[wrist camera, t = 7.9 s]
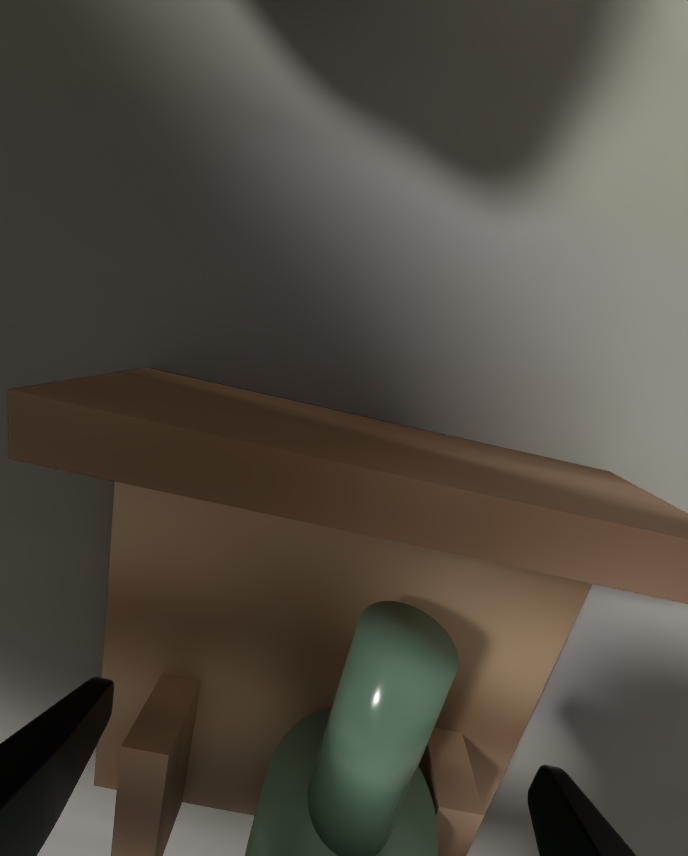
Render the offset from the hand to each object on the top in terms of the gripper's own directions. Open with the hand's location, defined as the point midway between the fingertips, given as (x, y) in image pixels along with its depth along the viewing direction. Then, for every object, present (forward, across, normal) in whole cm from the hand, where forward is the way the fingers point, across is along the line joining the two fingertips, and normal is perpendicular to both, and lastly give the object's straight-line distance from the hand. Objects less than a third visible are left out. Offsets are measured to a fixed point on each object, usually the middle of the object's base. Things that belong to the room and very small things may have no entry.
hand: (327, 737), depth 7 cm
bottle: (+1, -1, +10) cm, 10 cm away
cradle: (+4, 0, +2) cm, 4 cm away
